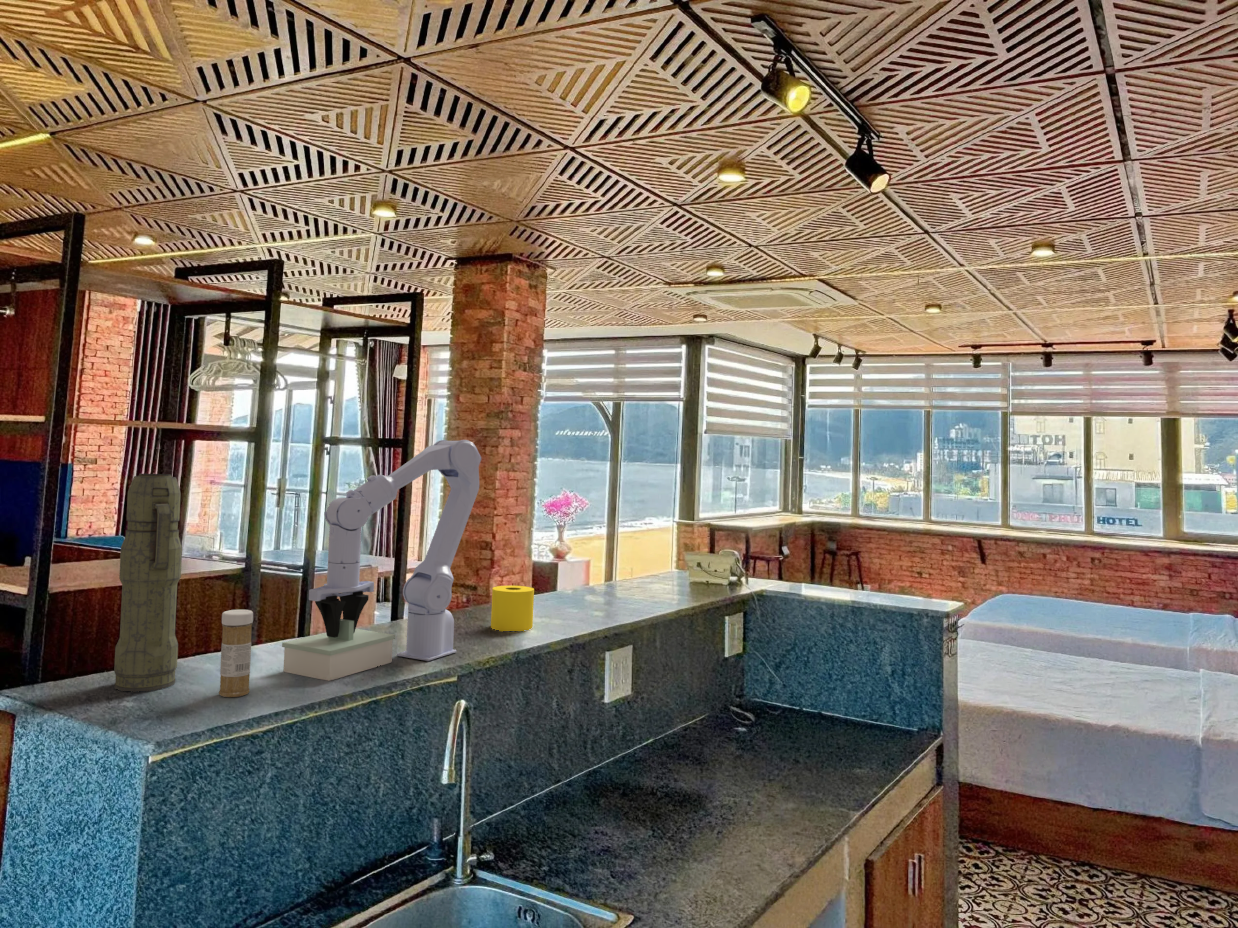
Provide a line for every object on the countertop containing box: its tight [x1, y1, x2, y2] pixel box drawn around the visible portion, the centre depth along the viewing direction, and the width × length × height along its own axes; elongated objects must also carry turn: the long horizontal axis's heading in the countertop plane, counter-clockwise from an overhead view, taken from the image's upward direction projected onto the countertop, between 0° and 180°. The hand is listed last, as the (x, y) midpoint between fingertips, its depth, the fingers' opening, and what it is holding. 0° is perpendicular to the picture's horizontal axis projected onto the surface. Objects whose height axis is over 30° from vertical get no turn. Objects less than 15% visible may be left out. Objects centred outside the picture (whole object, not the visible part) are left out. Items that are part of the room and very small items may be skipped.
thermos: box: [113, 473, 183, 693], centre depth 131 cm, size 9×12×35 cm
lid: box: [281, 618, 396, 656], centre depth 147 cm, size 17×12×5 cm
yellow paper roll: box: [490, 585, 535, 632], centre depth 190 cm, size 10×10×9 cm
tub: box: [283, 639, 394, 682], centre depth 147 cm, size 16×11×4 cm
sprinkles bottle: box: [218, 609, 254, 698], centre depth 128 cm, size 5×5×14 cm
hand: (340, 634), depth 147 cm, fingers open, 4 cm apart
